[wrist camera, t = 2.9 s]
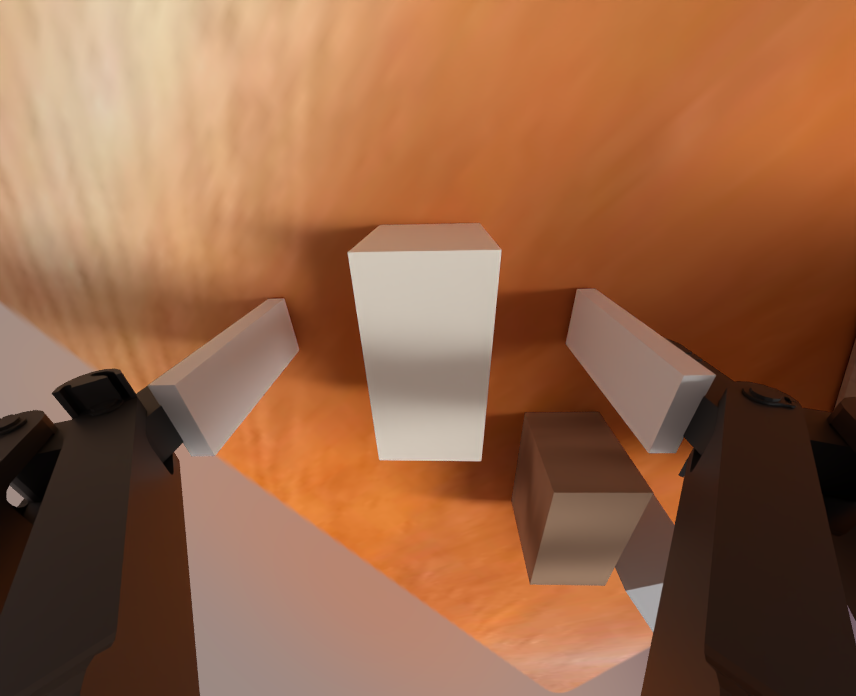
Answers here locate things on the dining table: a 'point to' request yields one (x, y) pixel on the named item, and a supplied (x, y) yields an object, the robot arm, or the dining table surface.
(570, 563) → the walnut brick
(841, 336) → the dining table surface
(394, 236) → the cream brick
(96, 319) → the dining table surface
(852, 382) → the wooden block
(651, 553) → the slate brick
